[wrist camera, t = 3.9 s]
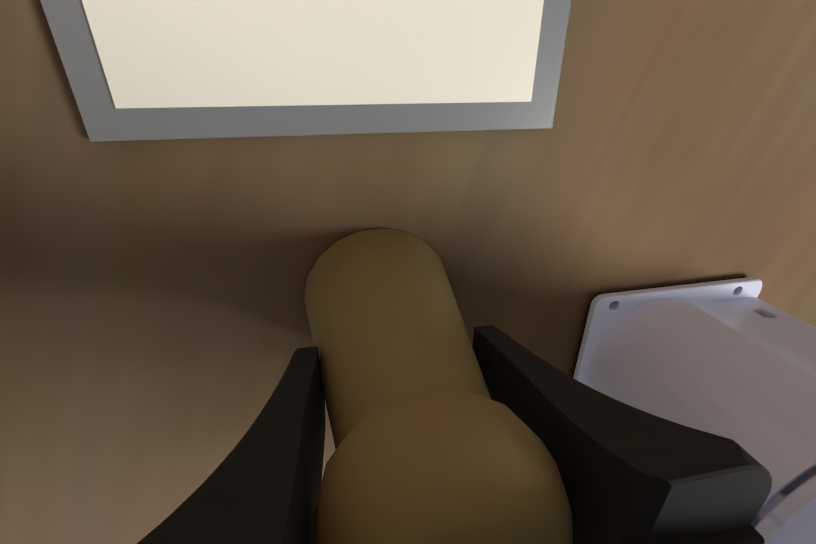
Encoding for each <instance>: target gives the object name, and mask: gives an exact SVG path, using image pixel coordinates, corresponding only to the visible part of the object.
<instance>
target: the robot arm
mask: <svg viewBox="0 0 816 544" xmlns="http://www.w3.org/2000/svg"><path fill="white" fill-rule="evenodd" d="M761 288H762V281H760V280H759V279H757V278H754V277H748V278H739V279H730V280H722V281H713V282H704V283H695V284H686V285H677V286H668V287H660V288H651V289H642V290H633V291H624V292H615V293H606V294H601V295H598V296H596V297H595V298H594V299H593V300H592V302H591V305H590V309H589V314H588V318H587V322H586V326H585V330H584V335H583V339H582V343H581V347H580V351H579V355H578V360H577V364H576V368H575V372H574V376H573V378H572V377H570V376H568V375H567V374H565V373H563V372H562V371H560V370H558V369H557V368H555V367H553V366H552V365H550V364H549V363H547V362H545V361H544V360H542V359H541V358H539V357H538V356H536V355H535V354H533V353H532V352H530V351H529V350H527V349H526V348H524V347H523V346H522V345H520V344H519V343H517V342H516V341H514V340H513V339H511V338H510V337H509V336H507V335H506V334H504V333H503V332H501V331H500V330H499V329H497V328H495V327H494V326H492V325H490V326H482V327H474V338H473V350H474V352H475V355H476V358H477V361H478V364H479V366H480V369H481V372H482V375H483V377H484V380H485V383H486V386H487V389H488V391H489V394H490V397H491V400H494V401H496V402H499V403H502V404H504V405H506V406H507V407H508V408H509V409H510V410H511V411H512V412H513V413H514V414H515V415H516V416H517V417H518V418H519V419H520V420H521V421H522V422H523V423H525V424H526V425H527V426H528V427H529V428H530V429H531V430H532V431H533V432H534V433H535V434H536V435H537V436H538V437H539V438H540V439H541V440H542V442H543V443H544V445H545V446H546V448H547V449H548V451H549V453H550V454H551V456H552V457H553V459H554V460H555V462H556V464H557V467H558V469H559V472H560V475H561V478H562V481H563V484H564V487H565V490H566V493H567V497H568V500H569V504H570V507H571V511H572V525H573V544H816V327H814V326H812V325H810V324H808V323H806V322H804V321H802V320H800V319H798V318H796V317H794V316H792V315H790V314H788V313H786V312H784V311H782V310H780V309H778V308H776V307H774V306H772V305H770V304H768V303H766V302H764V301H762V300H760V299H758V298H757V297H758V295H759V293H760V290H761ZM612 302H613V303H612ZM611 303H612V304H611ZM610 304H611V305H610ZM324 441H325V397H324V391H323V387H322V381H321V376H320V359H319V352H318V346H315V347H307V348H298V349H297V350H296V351H295V352H294V354H293V356H292V358H291V361H290V363H289V365H288V367H287V369H286V371H285V373H284V375H283V377H282V378H281V380H280V382H279V384H278V385H277V387H276V389H275V391H274V392H273V394H272V396H271V397H270V399H269V401H268V402H267V404H266V405H265V407H264V408H263V410H262V411H261V413H260V414H259V416H258V417H257V419H256V420H255V422H254V423H253V424H252V426H251V427H250V428H249V430H248V431H247V433H246V434H245V435H244V436H243V438H242V439H241V440H240V442H239V443H238V444H237V445H236V447H235V448H234V449H233V450H232V451H231V453H230V454H229V455H228V456H227V457H226V458H225V460H224V461H223V462H222V463H221V464H220V465H219V466H218V468H217V469H216V470H215V471H214V472H213V473H212V474H211V475H210V476H209V477H208V478H207V480H206V481H205V482H204V483H203V484H202V485H201V486H200V487H199V488H198V489H197V490H196V491H195V492H194V493H193V494H192V495H191V496H190V497H188V498H187V499H186V500H185V501H184V502H183V503H182V504H181V505H180V506H179V507H178V508H177V509H176V510H175V511H174V512H173V513H172V514H171V515H170V516H169V517H168V518H166V519H165V520H164V521H163V522H162V523H161V524H160V525H159V526H157V527H156V528H155V529H154V530H153V531H151V532H150V533H149V534H148V535H147V536H145V537H144V538H143V539H142V540H141V541H139V542H138V543H137V544H312V536H313V514H314V510H315V506H316V502H317V498H318V494H319V490H320V486H321V479H322V466H323V454H324Z"/></svg>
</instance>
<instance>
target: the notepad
mask: <svg viewBox="0 0 816 544" xmlns="http://www.w3.org/2000/svg"><path fill="white" fill-rule="evenodd" d="M40 1H41V4H42V7H43V9H44V12H45V15H46V18H47V21H48V23H49V26H50V29H51V32H52V35H53V38H54V40H55V43H56V46H57V49H58V52H59V55H60V57H61V60H62V63H63V66H64V69H65V72H66V74H67V77H68V80H69V83H70V86H71V88H72V91H73V94H74V97H75V100H76V103H77V105H78V108H79V111H80V114H81V117H82V120H83V122H84V125H85V128H86V131H87V134H88V137H89V139H90V142H94V141H128V140H162V139H196V138H230V137H264V136H298V135H332V134H366V133H400V132H434V131H468V130H502V129H536V128H552V124H553V118H554V111H555V104H556V98H557V91H558V85H559V78H560V71H561V65H562V58H563V52H564V45H565V38H566V32H567V25H568V18H569V12H570V5H571V0H40Z"/></svg>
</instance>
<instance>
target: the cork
mask: <svg viewBox="0 0 816 544" xmlns="http://www.w3.org/2000/svg"><path fill="white" fill-rule="evenodd" d="M304 301H305V306H306V311H307V316H308V321H309V326H310V330H311V335H312V340H313V344H314V347H315V346H318V352H319V359H320V376H321V381H322V387H323V391H324V396H325V401H326V406H327V410H328V415H329V420H330V424H331V429H332V434H333V439H334V443H335V448H336V450H335V452H334V453H333V455H332V456H331V457H330V459H329V460H328V462H327V463H326V467H325V471H324V475H323V479H322V482H321V486H320V490H319V494H318V498H317V502H316V506H315V510H314V514H313V536H312V544H573V525H572V511H571V507H570V504H569V500H568V497H567V493H566V490H565V487H564V484H563V481H562V478H561V475H560V472H559V469H558V467H557V464H556V462H555V460H554V459H553V457H552V456H551V454H550V453H549V451H548V449H547V448H546V446H545V445H544V443H543V442H542V440H541V439H540V438H539V437H538V436H537V435H536V434H535V433H534V432H533V431H532V430H531V429H530V428H529V427H528V426H527V425H526V424H525V423H523V422H522V421H521V420H520V419H519V418H518V417H517V416H516V415H515V414H514V413H513V412H512V411H511V410H510V409H509V408H508V407H507V406H506V405H504V404H502V403H499V402H496V401H494V400H491V397H490V394H489V391H488V389H487V386H486V383H485V380H484V377H483V375H482V372H481V369H480V366H479V364H478V361H477V358H476V355H475V352H474V350H473V347H472V344H471V341H470V339H469V336H468V333H467V330H466V327H465V325H464V322H463V319H462V316H461V314H460V311H459V308H458V305H457V302H456V300H455V297H454V294H453V291H452V289H451V286H450V283H449V280H448V277H447V275H446V272H445V269H444V267H443V264H442V261H441V259H440V257H439V256H438V255H437V254H436V253H435V252H434V251H433V249H432V248H431V247H430V246H429V245H428V244H427V243H426V242H424V241H422V240H421V239H419V238H417V237H415V236H413V235H412V234H410V233H408V232H404V231H398V230H393V229H387V228H380V229H371V230H363V231H358V232H356V233H354V234H352V235H349V236H347V237H345V238H342V239H340V240H338V241H336V242H335V243H334V244H333V245H332V246H331V247H329V248H328V249H327V250H326V251H325V252H324V253H323V254H321V255H320V256H319V257H318V259H317V261H316V263H315V264H314V266H313V268H312V269H311V271H310V273H309V275H308V276H307V282H306V287H305V293H304Z"/></svg>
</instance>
